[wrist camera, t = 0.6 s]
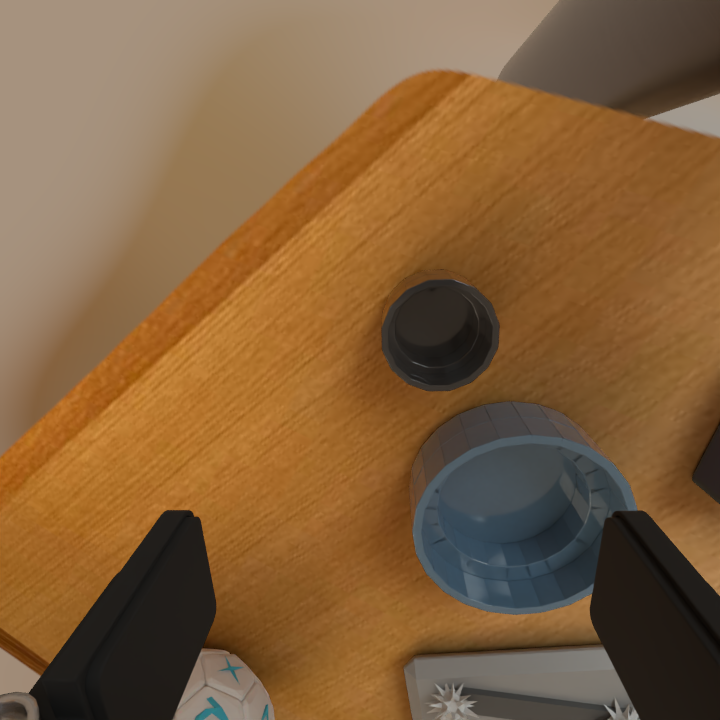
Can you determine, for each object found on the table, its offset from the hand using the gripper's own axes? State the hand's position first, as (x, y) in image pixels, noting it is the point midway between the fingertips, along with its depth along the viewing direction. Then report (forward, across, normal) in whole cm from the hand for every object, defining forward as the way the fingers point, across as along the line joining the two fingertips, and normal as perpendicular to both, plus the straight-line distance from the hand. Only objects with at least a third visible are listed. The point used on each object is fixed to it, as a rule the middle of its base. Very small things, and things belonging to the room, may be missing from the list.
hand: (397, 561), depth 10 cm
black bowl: (+21, -3, 0) cm, 22 cm away
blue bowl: (+21, -8, +12) cm, 26 cm away
